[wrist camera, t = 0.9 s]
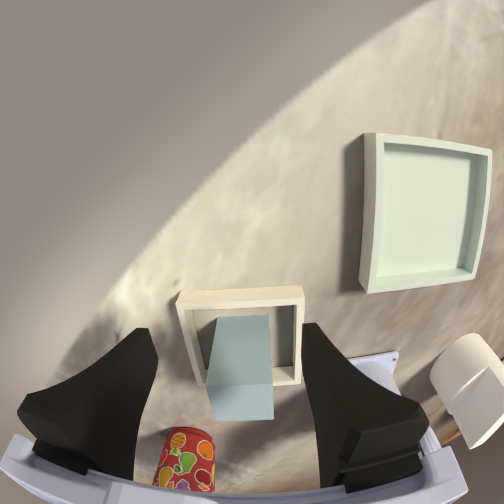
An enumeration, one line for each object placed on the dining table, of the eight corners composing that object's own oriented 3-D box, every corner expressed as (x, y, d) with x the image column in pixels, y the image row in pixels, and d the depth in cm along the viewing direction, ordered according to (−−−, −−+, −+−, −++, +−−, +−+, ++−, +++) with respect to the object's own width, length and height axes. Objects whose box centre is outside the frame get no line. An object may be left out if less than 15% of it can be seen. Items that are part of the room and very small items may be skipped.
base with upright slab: (450, 334, 26) (500, 405, 15) (491, 331, 26) (537, 388, 15) (418, 387, 29) (451, 457, 18) (461, 380, 30) (495, 437, 18)
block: (269, 351, 26) (273, 419, 19) (224, 353, 26) (215, 420, 19) (268, 314, 24) (272, 383, 17) (217, 316, 24) (205, 385, 17)
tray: (461, 268, 23) (474, 278, 20) (358, 280, 23) (367, 293, 21) (476, 147, 18) (492, 149, 16) (363, 133, 18) (375, 133, 16)
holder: (298, 369, 27) (300, 383, 25) (200, 373, 27) (197, 387, 25) (301, 284, 23) (304, 297, 21) (180, 290, 23) (175, 303, 22)
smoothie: (168, 445, 34) (147, 555, 16) (157, 417, 31) (124, 548, 13) (223, 451, 34) (214, 567, 16) (220, 424, 31) (207, 566, 13)
